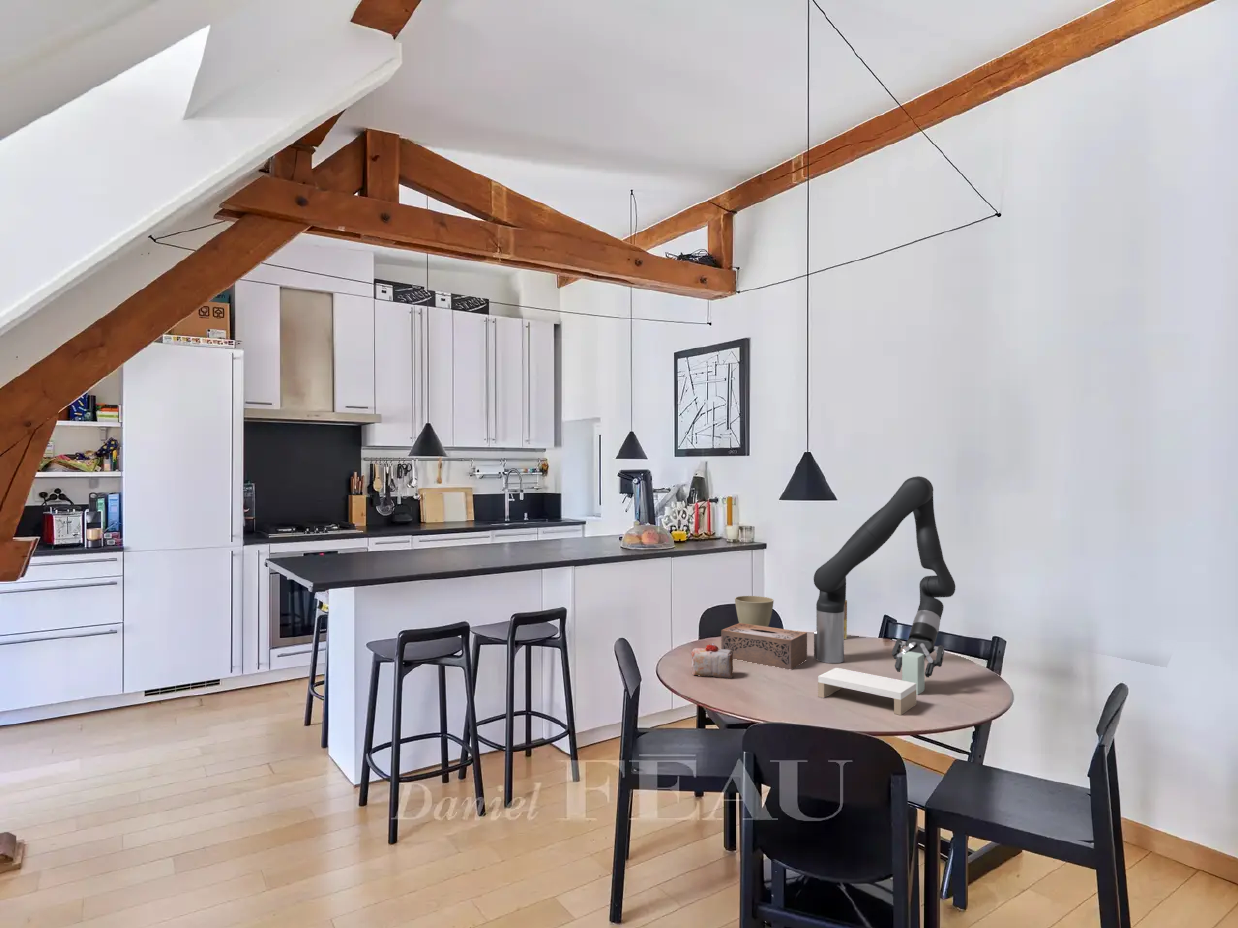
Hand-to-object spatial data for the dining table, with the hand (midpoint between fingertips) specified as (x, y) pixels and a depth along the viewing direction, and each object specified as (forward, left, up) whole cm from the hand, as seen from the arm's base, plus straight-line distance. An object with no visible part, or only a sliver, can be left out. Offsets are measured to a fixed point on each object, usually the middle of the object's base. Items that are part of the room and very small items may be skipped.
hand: (912, 673), depth 216 cm
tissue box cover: (-52, +3, -6) cm, 53 cm away
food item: (-55, -25, -6) cm, 60 cm away
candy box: (-46, +47, -6) cm, 66 cm away
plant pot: (-69, +25, -6) cm, 74 cm away
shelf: (-7, -17, -6) cm, 19 cm away
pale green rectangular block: (0, +1, -6) cm, 6 cm away
